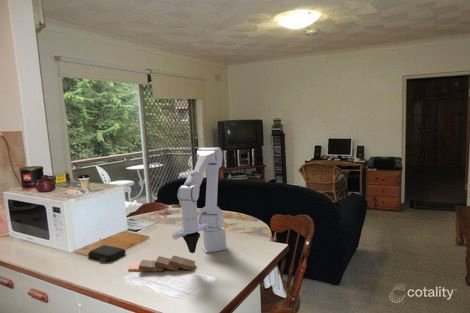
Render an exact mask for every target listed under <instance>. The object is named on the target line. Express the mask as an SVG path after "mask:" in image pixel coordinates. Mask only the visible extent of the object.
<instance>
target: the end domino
mask: <svg viewBox="0 0 470 313" xmlns="http://www.w3.org/2000/svg"><path fill="white" fill-rule="evenodd" d="M140 263H141V262H133V263H132V265H131V266H130V267H129V268H128V272H143V271H142V270H139V265H140Z"/></svg>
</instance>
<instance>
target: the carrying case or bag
mask: <svg viewBox="0 0 470 313" xmlns="http://www.w3.org/2000/svg"><path fill="white" fill-rule="evenodd" d="M126 253H127V251H126V250H125V249H124V248H122V247H118V246H117V247H116V246H112V245H108V244H107V245H106V244H103V245H101V246H99V247H96V248H94V249H92V250H90V251H89V252H88V253H87V256H88V257H89V258H91V257H92V258H91V259H95V258H96V259H95V260H99V259H100V260H99V261H100V262H103V261H104V262H110V263H111V262H113V261H116V260H118V259H119V258H121V257H123V256H125V254H126Z"/></svg>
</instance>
